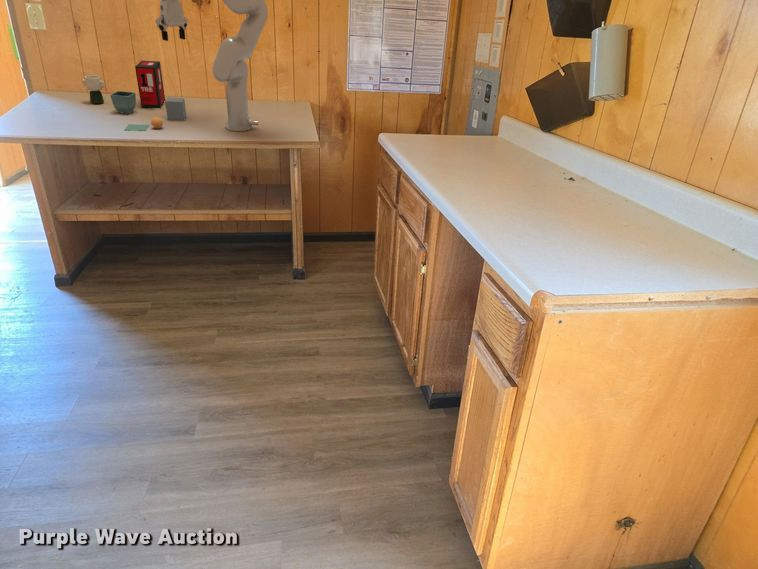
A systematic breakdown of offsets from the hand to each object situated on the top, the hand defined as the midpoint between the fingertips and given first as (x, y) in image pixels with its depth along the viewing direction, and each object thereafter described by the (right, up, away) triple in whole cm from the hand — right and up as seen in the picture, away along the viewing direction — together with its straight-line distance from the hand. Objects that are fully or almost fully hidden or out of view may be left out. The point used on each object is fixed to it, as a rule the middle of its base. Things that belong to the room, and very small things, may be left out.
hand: (174, 39), depth 243 cm
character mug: (-50, -20, +26) cm, 60 cm away
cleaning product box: (-23, -19, +32) cm, 44 cm away
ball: (-7, -39, -3) cm, 40 cm away
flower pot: (-30, -29, +16) cm, 45 cm away
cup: (-4, -32, +14) cm, 35 cm away
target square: (-16, -42, -3) cm, 45 cm away
